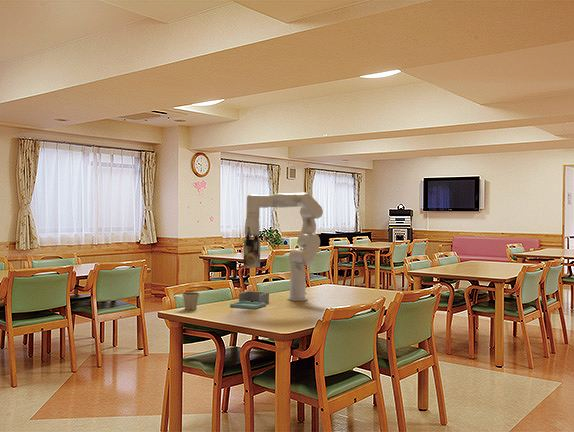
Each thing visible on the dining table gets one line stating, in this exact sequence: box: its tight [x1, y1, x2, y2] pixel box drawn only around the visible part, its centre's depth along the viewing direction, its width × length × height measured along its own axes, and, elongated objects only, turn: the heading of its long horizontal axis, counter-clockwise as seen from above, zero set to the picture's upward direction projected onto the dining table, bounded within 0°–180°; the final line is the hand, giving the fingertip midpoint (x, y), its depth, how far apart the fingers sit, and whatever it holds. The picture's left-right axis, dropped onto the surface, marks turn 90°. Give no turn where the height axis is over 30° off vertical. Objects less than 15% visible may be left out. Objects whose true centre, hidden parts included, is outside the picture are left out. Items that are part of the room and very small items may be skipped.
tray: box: [229, 300, 267, 310], centre depth 318 cm, size 13×16×2 cm
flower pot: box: [182, 291, 200, 311], centre depth 306 cm, size 9×9×9 cm
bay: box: [238, 290, 270, 304], centre depth 331 cm, size 12×14×6 cm
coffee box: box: [242, 239, 261, 269], centre depth 326 cm, size 9×6×16 cm
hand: (252, 245), depth 326 cm, fingers closed on coffee box, 7 cm apart
